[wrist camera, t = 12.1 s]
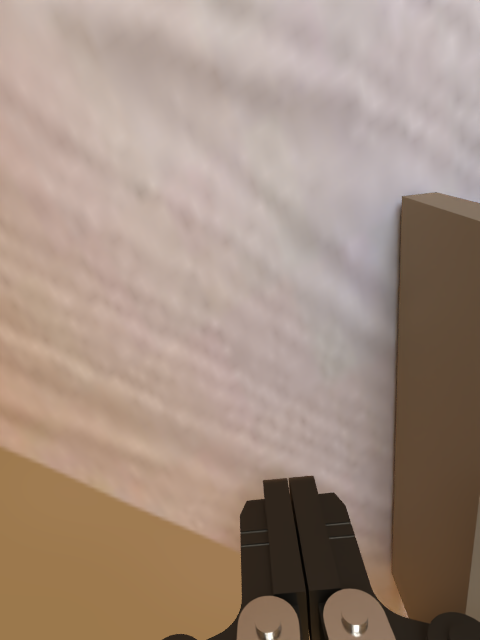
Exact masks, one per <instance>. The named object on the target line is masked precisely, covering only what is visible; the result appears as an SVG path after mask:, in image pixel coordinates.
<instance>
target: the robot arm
mask: <svg viewBox="0 0 480 640" xmlns="http://www.w3.org/2000/svg"><path fill="white" fill-rule="evenodd" d="M263 486H264V497H265V499H261V500H250V501H247V502H246V504H245V506H244V508H243V510H242V512H241V514H240V532H241V573H242V574H241V575H242V604H241V609H240V612H239V614H238V616H237V618H236V619H235V621H234V622H233V623H232V625H230V626H229V627H228V628H227V629H226V630H225V631H223V632H222V633H220V634H218V635H216V636H214V637H212V638H209V639H208V640H309V636H310V640H480V622H479V621H477V620H476V619H474V618H472V617H470V616H468V615H465V614H462V613H457V612H446V613H442V614H439V615H438V616H436V617H435V618H434V619H433V620H432V621H431V623H430V624H429V623H425V622H421V621H417V620H413V619H409V618H405V617H402V616H400V615H397V614H395V613H393V612H392V611H390V610H389V609H387V608H386V607H385V606H384V605H383V604H382V603H381V602H380V601H379V600H378V599H377V597H376V596H375V594H374V593H373V591H372V588H371V585H370V582H369V579H368V576H367V573H366V570H365V566H364V563H363V560H362V557H361V554H360V550H359V547H358V544H357V541H356V538H355V535H354V531H353V528H352V525H351V523H350V519H349V515H348V512H347V509H346V506H345V505H344V503H343V502H342V501H341V500H340V499H339V498H338V497H337V496H336V494H335V493H325V494H318V492H317V488H316V484H315V480H314V476H304V477H293V478H289V487H288V481H287V478H283V479H273V480H263ZM289 490H290V493H289ZM308 629H309V631H308ZM163 640H197V639H195V638H193V637H192V636H189V635H184V634H176V635H171V636H169V637H166V638H164V639H163Z"/></svg>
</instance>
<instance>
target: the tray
mask: <svg viewBox="0 0 480 640" xmlns="http://www.w3.org/2000/svg"><path fill="white" fill-rule="evenodd" d="M392 574H393V577H394V580H395V582H396V585H397V588H398V590H399V593H400V596H401V598H402V601H403V604H404V607H405V609H406V612H407V615H408V617H409V619H413V620H417V621H421V622H425V623H429V624H430V623H431V621H432V620H433V619H434V618H435V617H436V616H438V615H439V614H442V613H446V612H457V613H462V614H465V615H468V616H470V617H472V618H474V619H476V620H477V621H479V622H480V203H477V202H473V201H469V200H465V199H461V198H457V197H453V196H449V195H445V194H441V193H437V192H435V193H426V194H418V195H409V196H402V217H401V255H400V292H399V329H398V366H397V403H396V440H395V477H394V514H393V551H392Z"/></svg>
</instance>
